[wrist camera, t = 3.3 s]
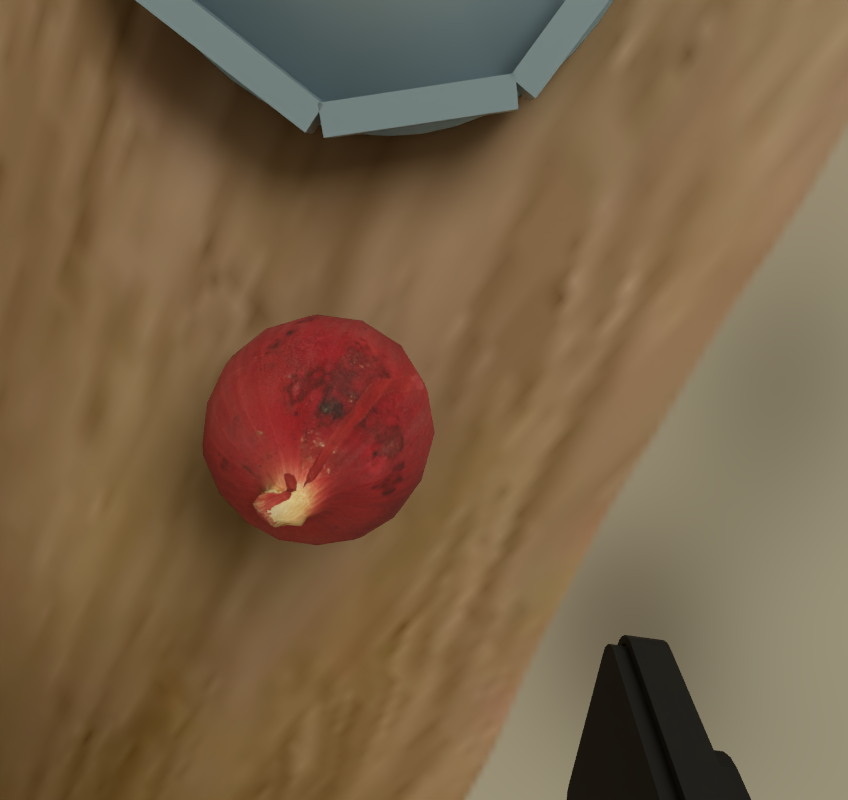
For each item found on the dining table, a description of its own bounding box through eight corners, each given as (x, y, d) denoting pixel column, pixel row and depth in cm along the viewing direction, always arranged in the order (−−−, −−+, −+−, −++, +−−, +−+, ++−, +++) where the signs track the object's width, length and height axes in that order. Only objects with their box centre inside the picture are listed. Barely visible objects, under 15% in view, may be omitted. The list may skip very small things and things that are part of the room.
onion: (303, 253, 20) (226, 314, 13) (469, 355, 21) (486, 467, 14) (215, 412, 22) (100, 546, 15) (372, 499, 23) (341, 668, 16)
